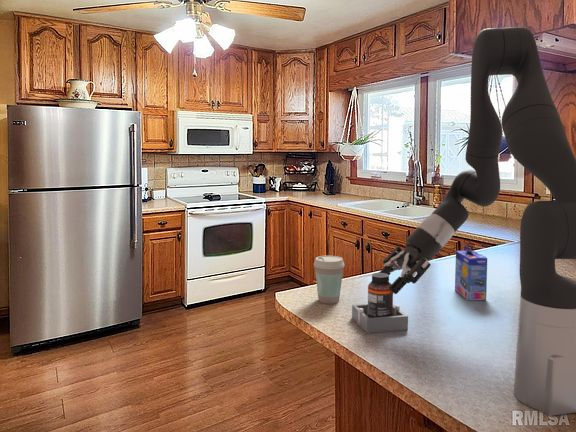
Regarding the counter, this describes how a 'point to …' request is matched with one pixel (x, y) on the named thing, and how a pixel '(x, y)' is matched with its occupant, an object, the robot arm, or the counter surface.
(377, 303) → the supplement bottle
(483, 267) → the ink cartridge box
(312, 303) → the counter surface
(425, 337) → the counter surface
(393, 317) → the tray
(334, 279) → the coffee cup
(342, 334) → the counter surface
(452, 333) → the counter surface
